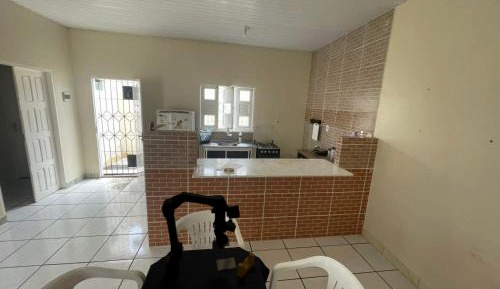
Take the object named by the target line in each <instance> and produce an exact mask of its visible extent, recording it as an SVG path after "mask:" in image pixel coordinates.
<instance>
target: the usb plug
mask: <svg viewBox="0 0 500 289" xmlns="http://www.w3.org/2000/svg"><path fill="white" fill-rule="evenodd" d="M230 246H231V245H230V242H229V243H228V244H223V246H222V249H220V248H219V246H218V245H216V240H215V239H213V240H212V241H211V249H212V251H214V252H217V251H218V252H219V251H225V250H226V247H230Z"/></svg>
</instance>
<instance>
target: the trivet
mask: <svg viewBox="0 0 500 289" xmlns="http://www.w3.org/2000/svg"><path fill="white" fill-rule="evenodd" d="M215 262H216V268H217V272H221V271H228V270H233V269H238V266H237V265H236V261H235V257H227V258H221V259H216V260H215Z"/></svg>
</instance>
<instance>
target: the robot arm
mask: <svg viewBox="0 0 500 289" xmlns="http://www.w3.org/2000/svg"><path fill="white" fill-rule="evenodd" d="M184 203H191V204H199V205H206V206H210V208H211V209H210V213H211V214H214V220H213V222H212V228H213V234H214V237H215V239H214V240H216V245H218V246H219V248H220V249H222V246H223V244H228V243H230V240H229V236H228V235H227V234H226V233H227V232H230V233H231V232H232V233H235V231H236V230H237V224H236V223H235V221H233V219H240V218H241V211H240V206H239V204H236V205H235V204H234V205H229V204H228V203H227V201H226V198H225V197H224V195H222V194H212V195H207V194H206V195H205V194H201V193H193V192H187V191H185V190H183V191H181V192H180V193H178V194H175V195H173V196H171V197H170V198H165V199H164V201H163V203H162V206H161V212H162V215H163V217H164V219H165V220H166V226H167V230H168V231H167V232H168V237H169V238H168V239H169V243H170V248H169V249H170V250H169V251H168V252H167V253H166V258H165V259H166V260H165V265H164V266H165V279H169V278H174V277H175V278H176V277H179V276H180V272H181V260H182V259H183V256H184V249H185V248H184V245H183V241H180V240H179V236H178V230H177V229H178V228H177V223H176V217H175V216H176V214H175V213H176V210H177V209H178V208H179V207H180V206H181V205H182V204H184ZM227 218H228V220H226V219H227Z"/></svg>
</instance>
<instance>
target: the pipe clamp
mask: <svg viewBox="0 0 500 289" xmlns="http://www.w3.org/2000/svg"><path fill="white" fill-rule="evenodd" d="M254 265H255V253H252V252H250V253H249V254H248V256H247V257H246V258H245V259H243V262H242V263H241V262H239V263H238V264H237V277H239V278H241V279H243V277H244V276H245V275H246V274H247V273H248V272H249V271H250V270H251V269H252V268H253V267H254Z"/></svg>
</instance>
